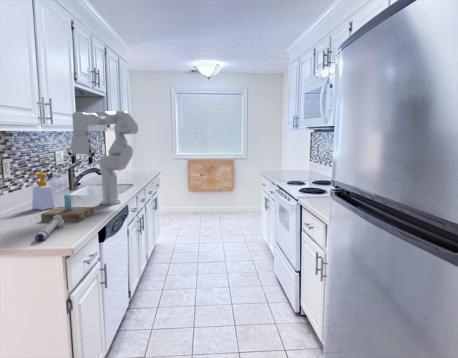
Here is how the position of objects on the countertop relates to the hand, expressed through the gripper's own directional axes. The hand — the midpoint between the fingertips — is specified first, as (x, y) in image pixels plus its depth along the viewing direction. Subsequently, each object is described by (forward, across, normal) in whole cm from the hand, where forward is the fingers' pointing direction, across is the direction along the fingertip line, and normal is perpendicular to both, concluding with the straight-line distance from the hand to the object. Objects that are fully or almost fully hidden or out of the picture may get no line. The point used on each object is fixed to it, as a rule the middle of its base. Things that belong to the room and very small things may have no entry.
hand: (82, 163), depth 185 cm
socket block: (+28, +2, +14) cm, 32 cm away
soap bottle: (+28, +29, -4) cm, 41 cm away
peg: (+28, +2, +14) cm, 32 cm away
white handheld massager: (+29, -4, +42) cm, 51 cm away
